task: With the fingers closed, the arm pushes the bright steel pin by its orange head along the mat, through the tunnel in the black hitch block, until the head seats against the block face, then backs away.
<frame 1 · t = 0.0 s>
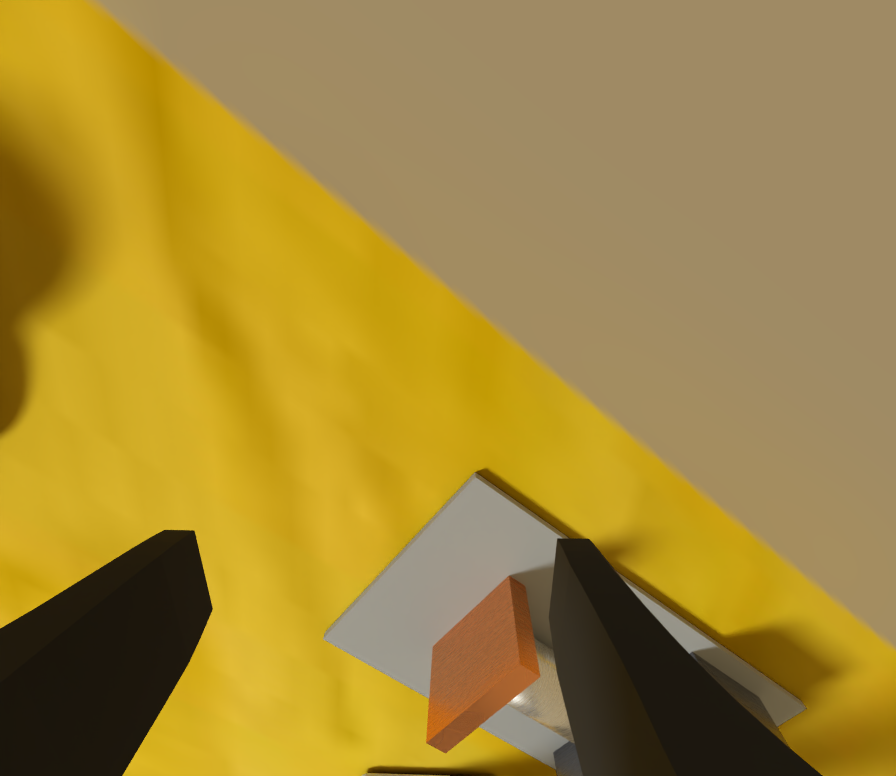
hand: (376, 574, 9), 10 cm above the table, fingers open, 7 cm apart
hitch block: (652, 725, 25), resting on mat
pin: (539, 656, 23), resting on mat
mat: (567, 667, 24), on the table
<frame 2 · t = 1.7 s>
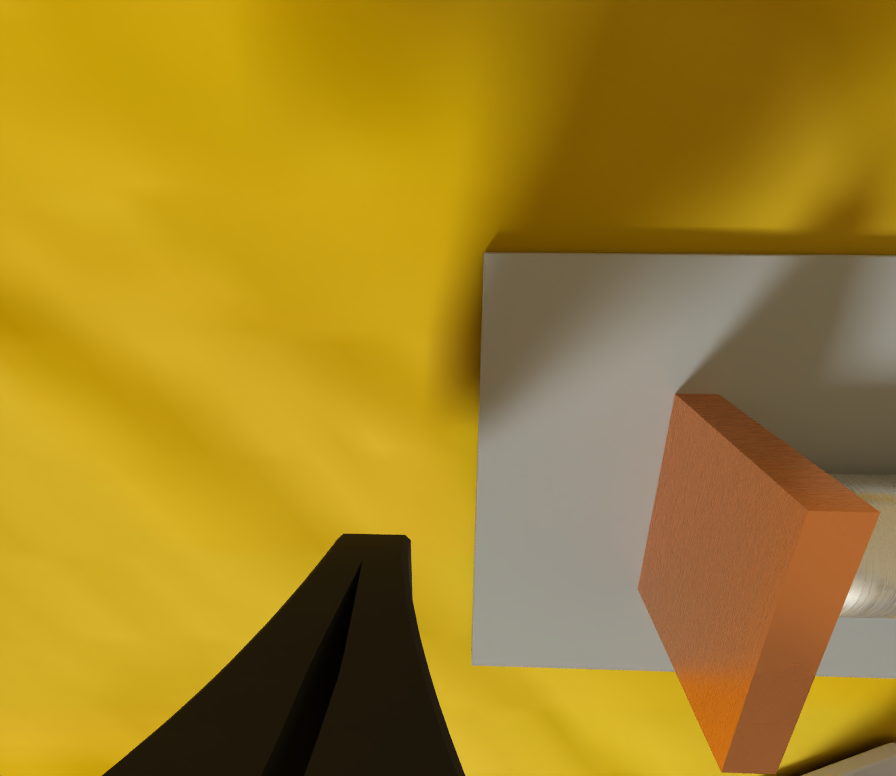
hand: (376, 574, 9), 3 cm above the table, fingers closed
pin: (836, 503, 12), resting on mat
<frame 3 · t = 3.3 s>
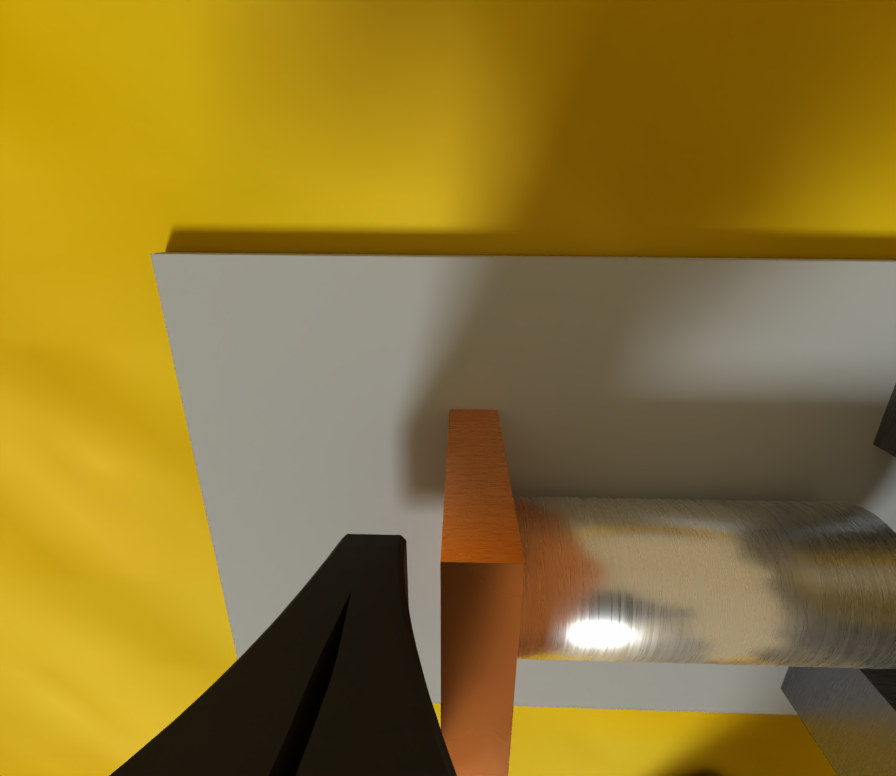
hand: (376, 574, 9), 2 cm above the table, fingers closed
pin: (645, 528, 11), resting on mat, touching gripper
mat: (675, 519, 11), on the table
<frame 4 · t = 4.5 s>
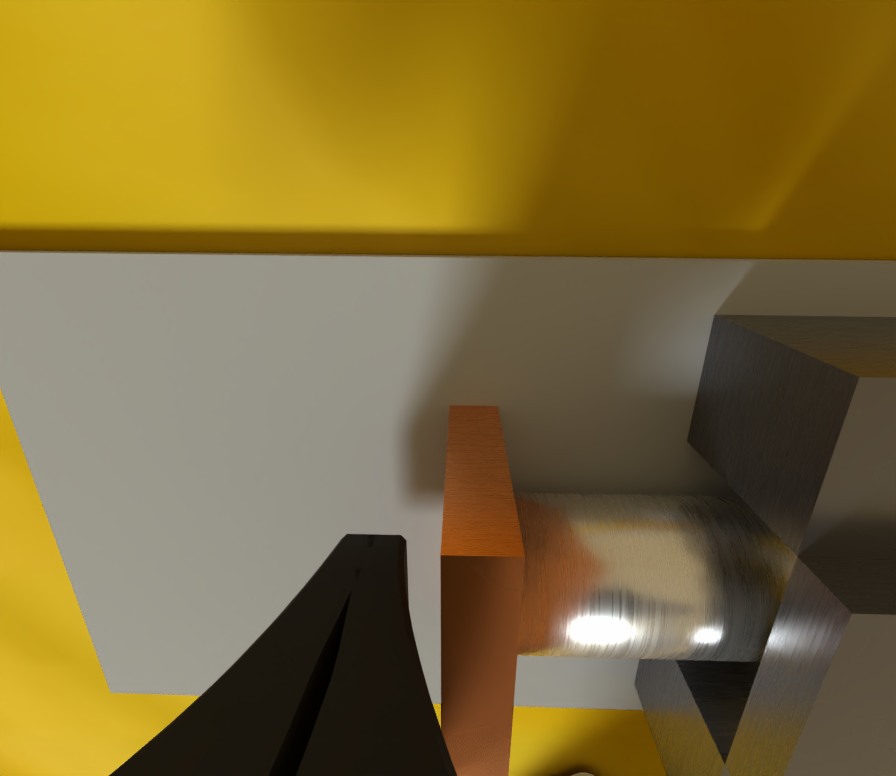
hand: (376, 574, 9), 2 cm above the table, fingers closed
hitch block: (778, 533, 11), resting on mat
pin: (646, 524, 11), resting on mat, touching gripper
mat: (512, 516, 11), on the table
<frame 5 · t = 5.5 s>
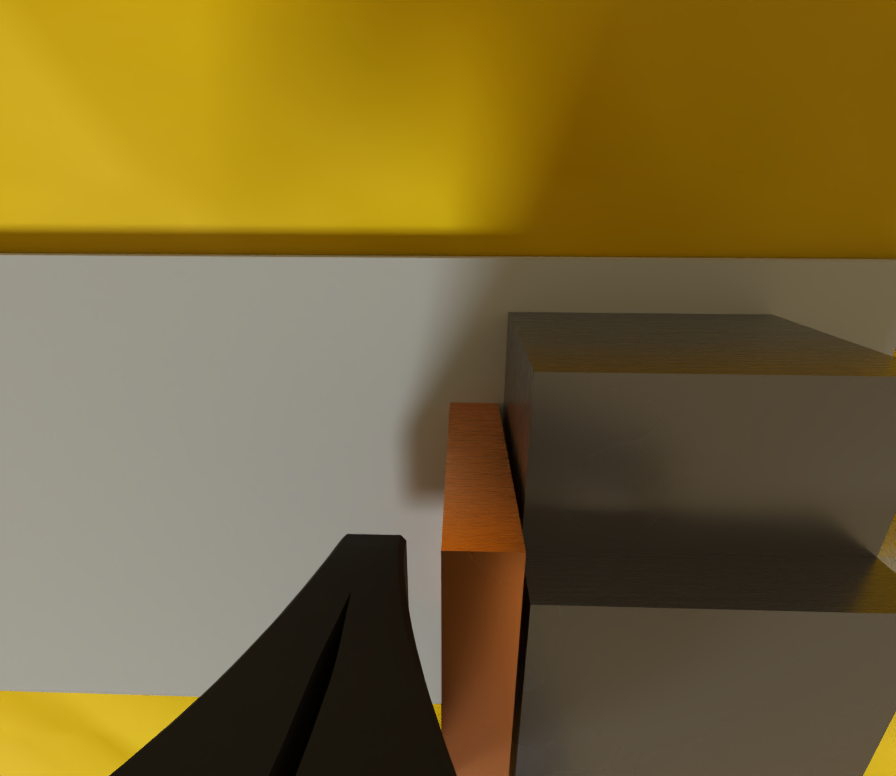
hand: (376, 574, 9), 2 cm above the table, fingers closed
hitch block: (606, 528, 11), resting on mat
pin: (646, 522, 11), resting on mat, touching gripper
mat: (350, 513, 11), on the table
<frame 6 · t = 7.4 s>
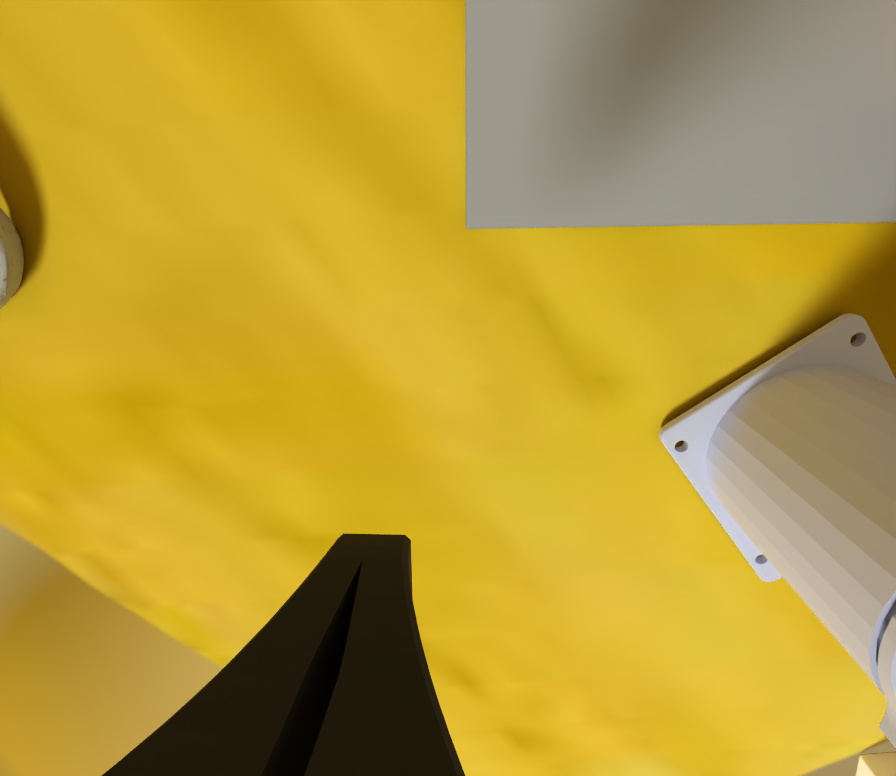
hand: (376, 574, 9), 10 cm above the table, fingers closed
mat: (838, 7, 14), on the table
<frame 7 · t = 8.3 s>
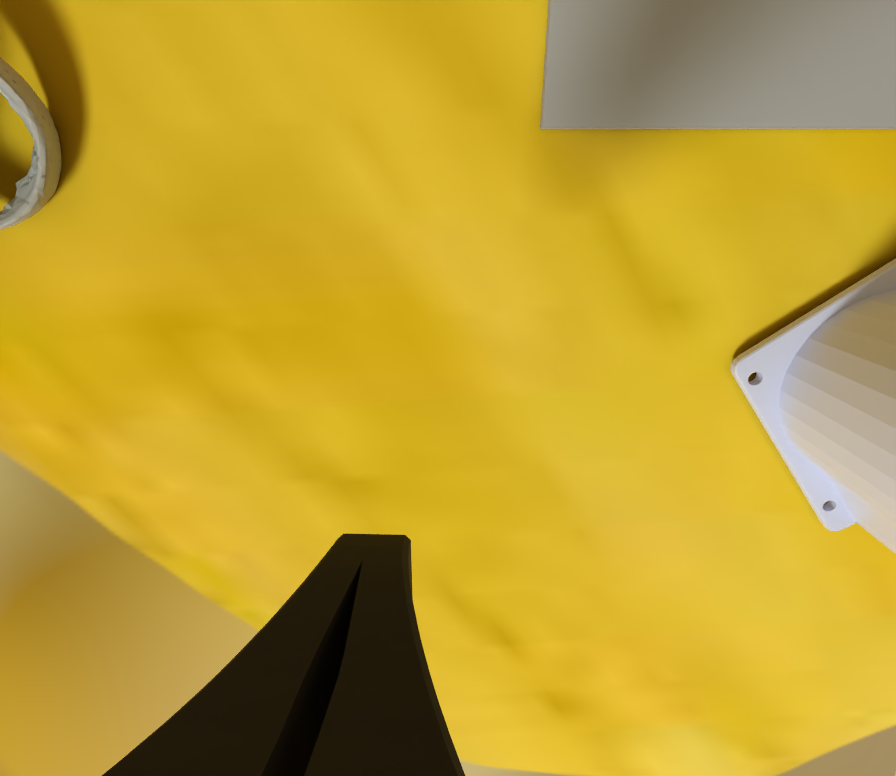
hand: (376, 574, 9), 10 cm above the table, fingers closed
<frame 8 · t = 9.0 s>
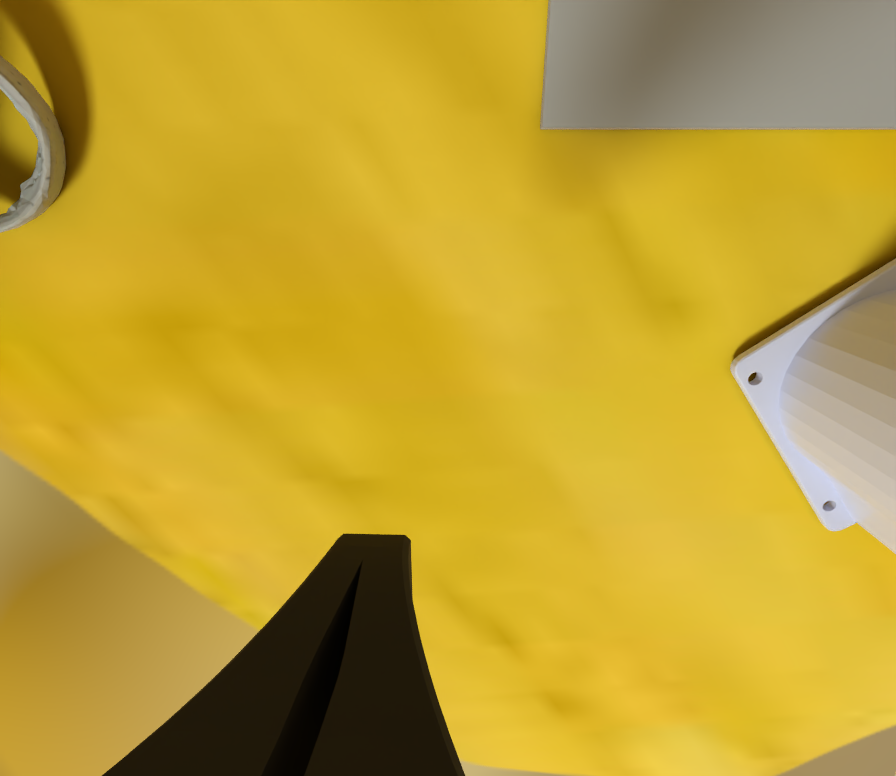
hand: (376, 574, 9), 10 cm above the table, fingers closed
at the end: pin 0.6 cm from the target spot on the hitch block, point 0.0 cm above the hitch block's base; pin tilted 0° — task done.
